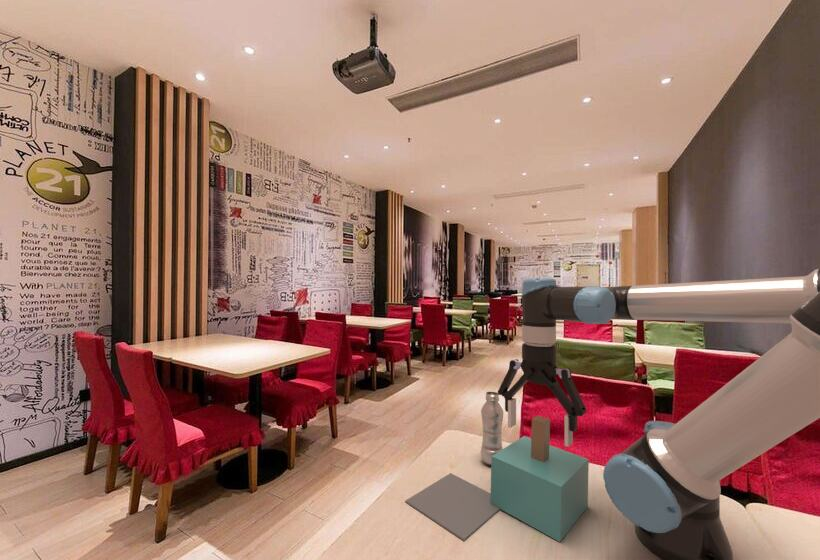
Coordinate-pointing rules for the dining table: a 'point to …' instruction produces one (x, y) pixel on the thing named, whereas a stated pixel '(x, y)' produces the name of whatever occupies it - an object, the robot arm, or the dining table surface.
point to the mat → (455, 505)
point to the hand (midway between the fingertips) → (538, 434)
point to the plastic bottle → (491, 427)
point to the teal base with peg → (540, 482)
